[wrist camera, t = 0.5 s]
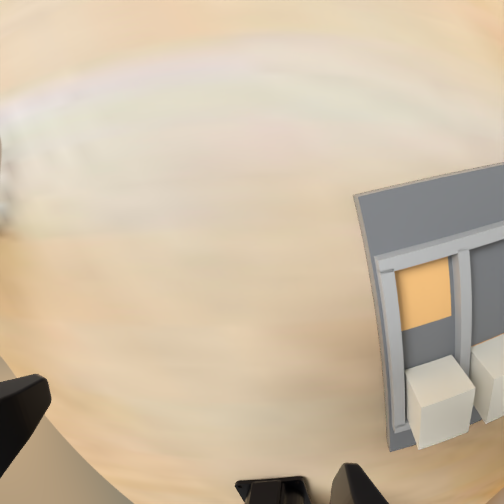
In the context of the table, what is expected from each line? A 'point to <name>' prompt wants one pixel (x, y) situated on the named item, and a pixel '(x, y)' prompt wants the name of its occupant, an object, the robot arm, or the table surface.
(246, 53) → the table surface
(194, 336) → the table surface
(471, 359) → the white cube block
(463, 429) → the tab
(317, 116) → the table surface
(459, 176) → the switch bank
